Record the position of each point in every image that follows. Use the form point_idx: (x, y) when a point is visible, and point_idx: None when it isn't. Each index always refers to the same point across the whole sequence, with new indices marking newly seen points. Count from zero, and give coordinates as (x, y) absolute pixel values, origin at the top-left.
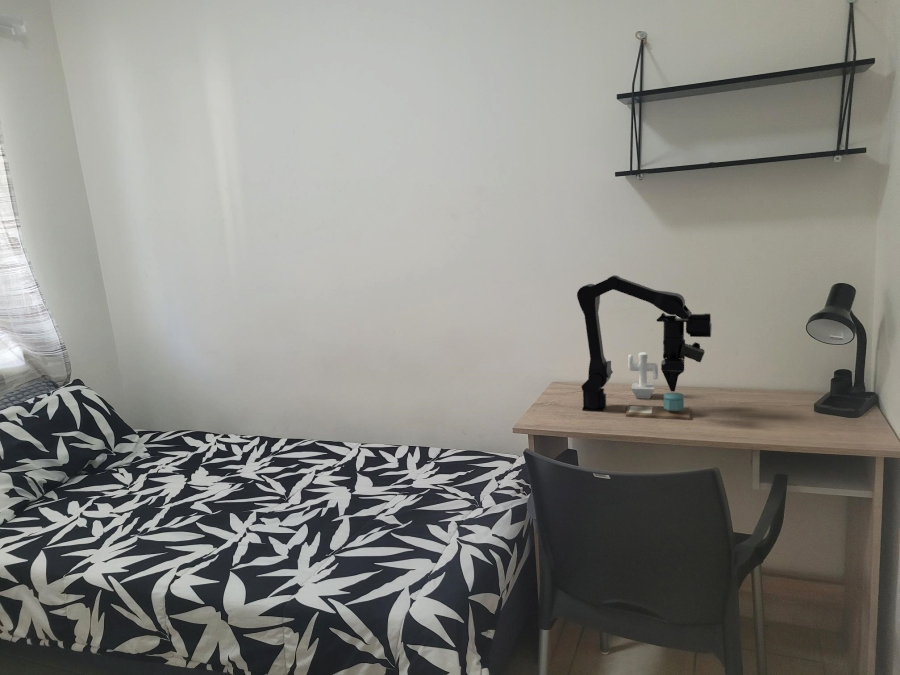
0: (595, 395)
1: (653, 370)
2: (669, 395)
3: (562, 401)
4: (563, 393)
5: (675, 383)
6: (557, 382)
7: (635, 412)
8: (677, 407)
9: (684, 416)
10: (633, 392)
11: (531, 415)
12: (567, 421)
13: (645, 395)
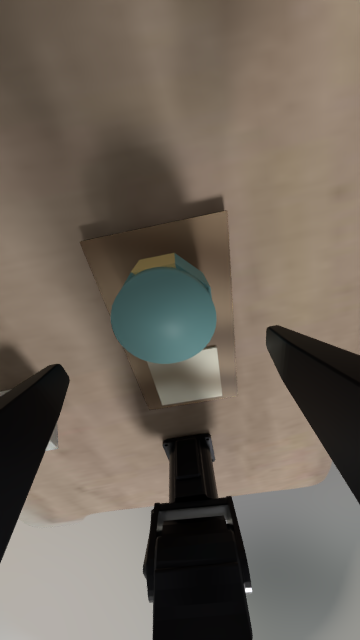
0: (214, 487)
1: None
2: (182, 338)
3: (164, 488)
4: (112, 499)
5: (353, 360)
6: (48, 519)
7: (220, 382)
8: (204, 277)
9: (220, 235)
10: (57, 432)
11: (262, 491)
12: (290, 454)
13: None
